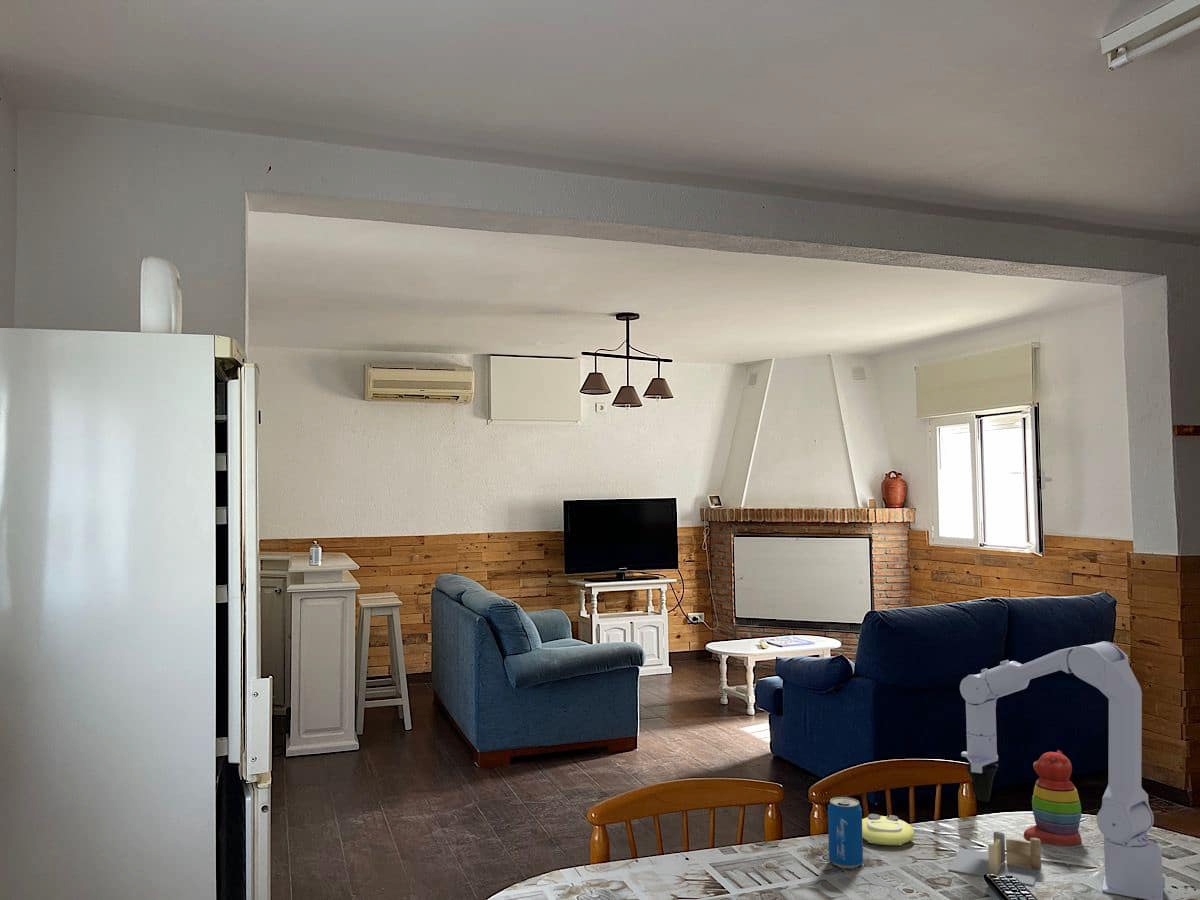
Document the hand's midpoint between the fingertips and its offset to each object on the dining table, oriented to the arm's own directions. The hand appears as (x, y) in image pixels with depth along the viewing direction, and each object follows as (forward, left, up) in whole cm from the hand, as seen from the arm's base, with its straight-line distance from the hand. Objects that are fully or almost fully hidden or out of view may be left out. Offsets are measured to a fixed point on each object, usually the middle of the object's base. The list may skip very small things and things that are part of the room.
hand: (983, 800), depth 196 cm
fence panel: (-4, +12, -9) cm, 15 cm away
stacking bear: (-12, -13, -10) cm, 20 cm away
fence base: (-8, +8, -9) cm, 15 cm away
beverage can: (+22, +23, -10) cm, 33 cm away
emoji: (+19, +5, -10) cm, 22 cm away
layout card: (-4, +11, -9) cm, 15 cm away
